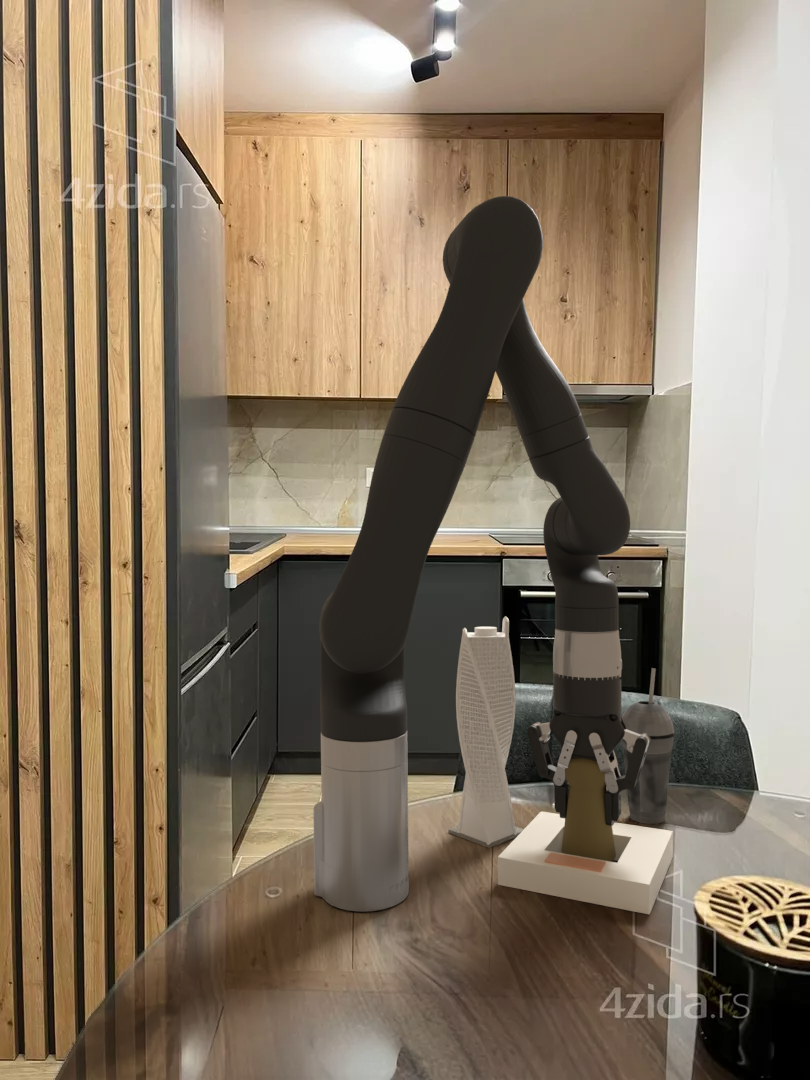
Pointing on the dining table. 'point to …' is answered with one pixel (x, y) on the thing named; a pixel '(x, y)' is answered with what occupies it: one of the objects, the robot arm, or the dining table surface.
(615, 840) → the hole board
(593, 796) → the cork
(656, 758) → the beverage cup
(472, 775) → the skyscraper
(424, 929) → the dining table surface
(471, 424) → the robot arm
